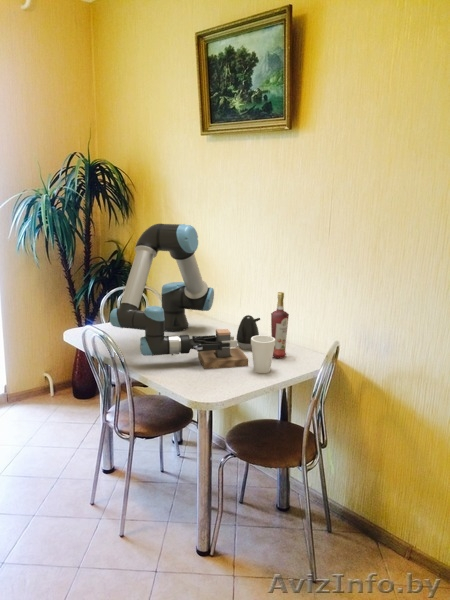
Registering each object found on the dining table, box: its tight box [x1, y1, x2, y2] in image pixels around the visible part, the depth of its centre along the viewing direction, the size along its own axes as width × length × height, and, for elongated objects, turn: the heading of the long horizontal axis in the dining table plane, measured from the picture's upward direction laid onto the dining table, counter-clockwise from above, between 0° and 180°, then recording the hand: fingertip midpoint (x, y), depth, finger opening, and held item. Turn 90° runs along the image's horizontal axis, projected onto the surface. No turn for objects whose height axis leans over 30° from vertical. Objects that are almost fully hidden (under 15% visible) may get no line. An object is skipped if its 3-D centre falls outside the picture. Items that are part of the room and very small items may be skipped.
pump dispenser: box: [235, 314, 261, 351], centre depth 215 cm, size 10×10×15 cm
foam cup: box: [251, 334, 275, 374], centre depth 189 cm, size 10×9×13 cm
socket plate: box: [197, 347, 249, 370], centre depth 199 cm, size 18×14×3 cm
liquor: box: [270, 291, 289, 359], centre depth 203 cm, size 7×7×28 cm
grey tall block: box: [215, 328, 232, 358], centre depth 197 cm, size 5×5×12 cm
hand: (235, 341), depth 198 cm, fingers closed on grey tall block, 5 cm apart
